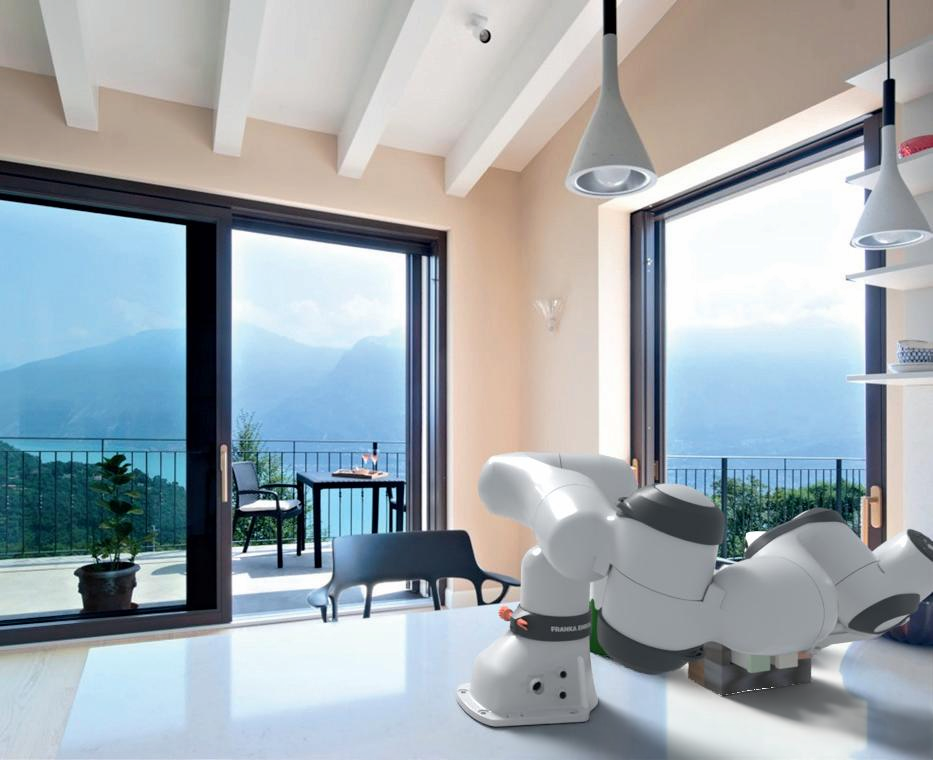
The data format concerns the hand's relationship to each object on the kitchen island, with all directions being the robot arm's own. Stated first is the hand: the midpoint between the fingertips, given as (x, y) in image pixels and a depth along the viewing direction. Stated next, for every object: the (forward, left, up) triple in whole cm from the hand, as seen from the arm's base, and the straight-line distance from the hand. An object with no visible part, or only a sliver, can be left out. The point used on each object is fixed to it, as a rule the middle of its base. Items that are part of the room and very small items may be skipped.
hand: (807, 649), depth 114 cm
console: (-6, +7, -7) cm, 11 cm away
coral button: (0, +3, -2) cm, 4 cm away
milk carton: (-21, +27, -7) cm, 35 cm away
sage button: (-12, +1, -2) cm, 12 cm away
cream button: (-6, +1, -2) cm, 6 cm away
